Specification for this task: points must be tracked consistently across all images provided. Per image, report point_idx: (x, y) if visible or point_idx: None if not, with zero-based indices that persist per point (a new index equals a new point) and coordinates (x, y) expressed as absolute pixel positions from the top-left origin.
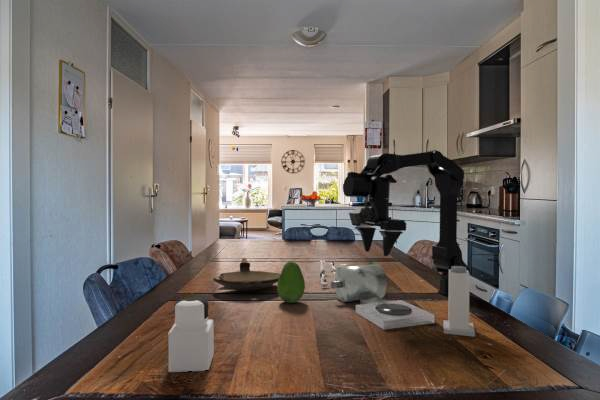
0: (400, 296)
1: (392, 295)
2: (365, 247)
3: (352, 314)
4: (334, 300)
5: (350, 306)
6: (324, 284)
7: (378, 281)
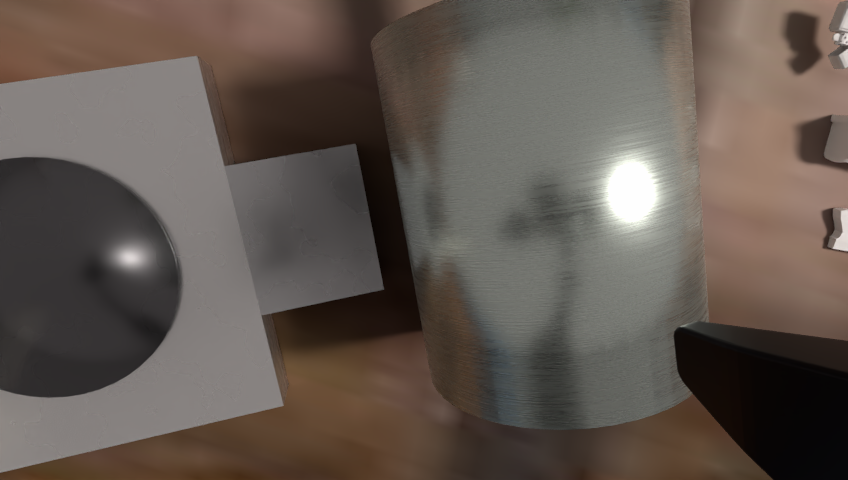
0: (517, 450)
1: None
2: (723, 340)
3: (173, 30)
4: None
5: (357, 77)
6: (834, 27)
7: (430, 326)
